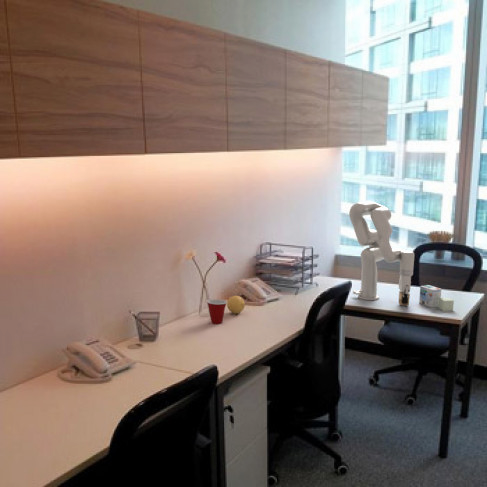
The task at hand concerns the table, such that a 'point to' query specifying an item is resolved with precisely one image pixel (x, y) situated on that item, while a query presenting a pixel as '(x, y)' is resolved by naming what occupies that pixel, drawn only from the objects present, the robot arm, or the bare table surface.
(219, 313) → the plastic cup
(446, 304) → the sage cube
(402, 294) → the oak block
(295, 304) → the table surface
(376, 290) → the robot arm
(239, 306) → the stress ball
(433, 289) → the light bulb box
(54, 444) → the table surface
